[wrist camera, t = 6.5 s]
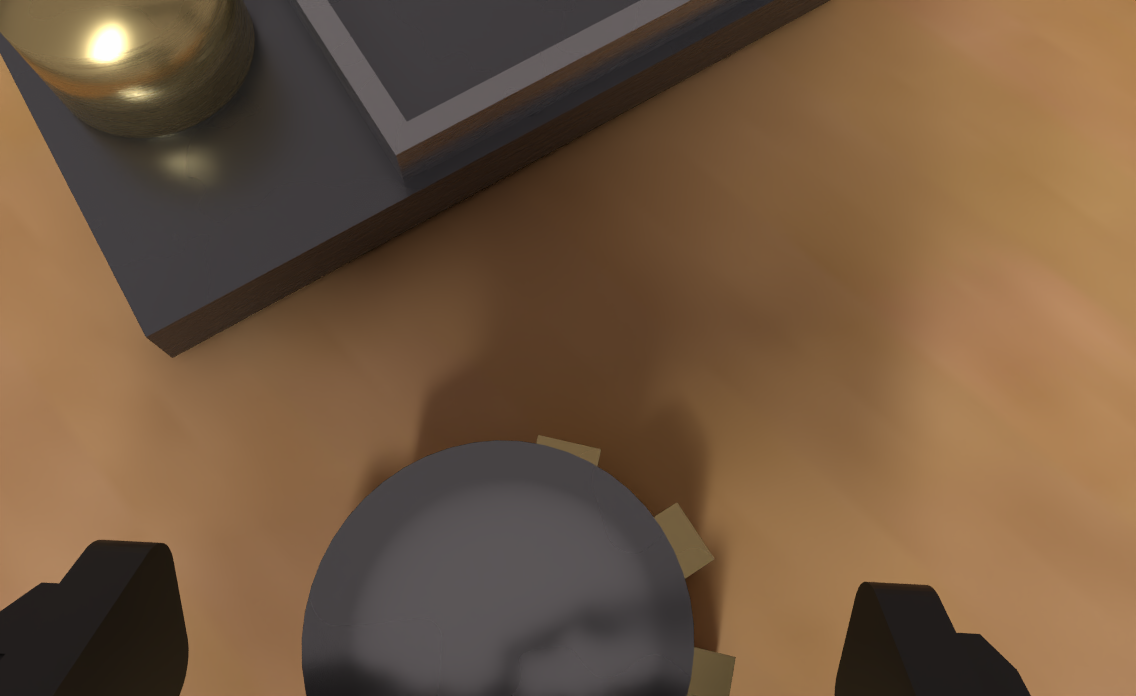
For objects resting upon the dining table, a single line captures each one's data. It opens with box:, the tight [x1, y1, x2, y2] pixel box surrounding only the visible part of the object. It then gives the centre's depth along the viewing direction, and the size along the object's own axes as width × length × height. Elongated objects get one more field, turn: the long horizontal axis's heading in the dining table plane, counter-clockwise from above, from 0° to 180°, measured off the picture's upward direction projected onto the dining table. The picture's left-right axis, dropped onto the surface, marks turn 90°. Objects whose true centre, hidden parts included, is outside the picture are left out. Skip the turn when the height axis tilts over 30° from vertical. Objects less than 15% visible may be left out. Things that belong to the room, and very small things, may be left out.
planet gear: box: [302, 435, 736, 696], centre depth 12 cm, size 7×7×8 cm
